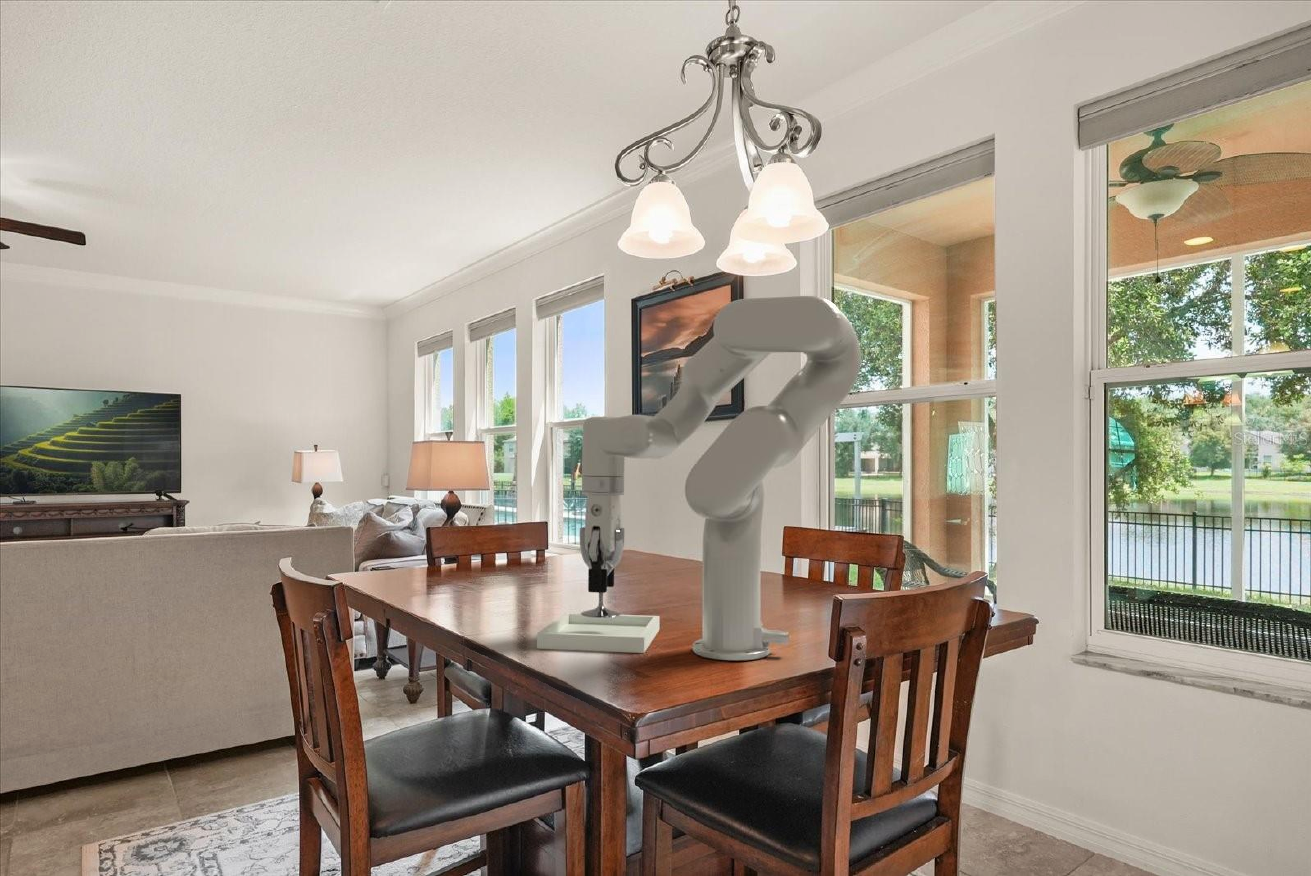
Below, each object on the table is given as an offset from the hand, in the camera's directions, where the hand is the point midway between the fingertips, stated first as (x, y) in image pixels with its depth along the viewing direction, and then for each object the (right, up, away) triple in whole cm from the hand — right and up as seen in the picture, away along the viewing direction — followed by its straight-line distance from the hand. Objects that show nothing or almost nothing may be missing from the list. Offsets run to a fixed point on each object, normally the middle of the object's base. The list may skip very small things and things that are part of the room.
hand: (601, 588), depth 134 cm
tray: (0, -9, 0) cm, 9 cm away
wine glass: (0, -5, 0) cm, 5 cm away
